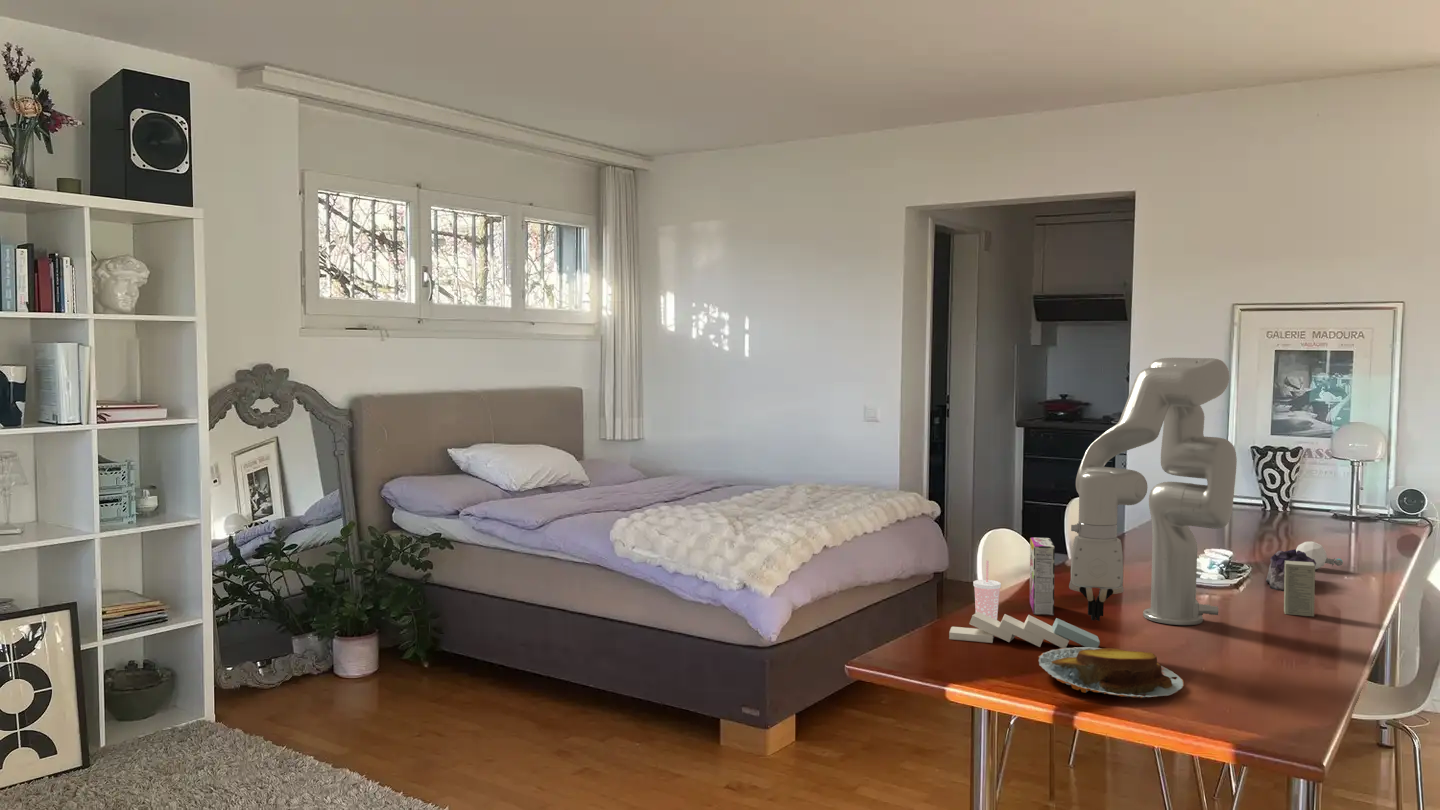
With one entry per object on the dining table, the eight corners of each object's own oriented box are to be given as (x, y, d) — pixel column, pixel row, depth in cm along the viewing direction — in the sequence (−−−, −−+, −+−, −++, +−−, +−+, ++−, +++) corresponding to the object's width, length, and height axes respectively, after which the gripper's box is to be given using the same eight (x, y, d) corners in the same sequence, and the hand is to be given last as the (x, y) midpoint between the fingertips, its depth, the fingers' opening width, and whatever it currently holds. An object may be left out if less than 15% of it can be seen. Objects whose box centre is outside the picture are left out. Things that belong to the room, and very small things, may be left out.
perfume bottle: (1293, 551, 305) (1340, 560, 300) (1290, 572, 300) (1339, 581, 295) (1297, 532, 301) (1346, 541, 295) (1295, 553, 295) (1344, 562, 290)
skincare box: (1312, 613, 250) (1314, 562, 249) (1314, 617, 246) (1316, 565, 245) (1282, 610, 252) (1284, 559, 252) (1283, 614, 248) (1285, 563, 248)
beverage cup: (985, 626, 237) (986, 564, 236) (966, 620, 242) (967, 559, 242) (1006, 623, 240) (1007, 562, 239) (987, 616, 245) (988, 557, 244)
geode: (1312, 595, 268) (1307, 556, 268) (1262, 595, 275) (1257, 557, 275) (1321, 578, 285) (1316, 541, 284) (1273, 578, 291) (1269, 542, 291)
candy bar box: (1028, 603, 258) (1029, 536, 257) (1049, 604, 257) (1050, 537, 256) (1032, 615, 247) (1033, 545, 246) (1054, 616, 246) (1056, 546, 245)
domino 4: (1068, 634, 224) (1028, 614, 226) (1069, 641, 219) (1027, 620, 221) (1064, 642, 224) (1024, 622, 226) (1064, 649, 219) (1023, 628, 221)
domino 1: (994, 630, 229) (951, 626, 231) (992, 636, 224) (949, 632, 227) (993, 639, 229) (951, 635, 232) (992, 645, 224) (949, 641, 227)
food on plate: (1114, 656, 215) (1115, 624, 215) (1215, 695, 192) (1216, 659, 191) (1008, 670, 206) (1009, 636, 205) (1101, 713, 182) (1102, 675, 182)
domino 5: (1097, 636, 222) (1056, 617, 224) (1100, 642, 218) (1057, 623, 219) (1093, 644, 223) (1052, 626, 225) (1095, 651, 218) (1053, 632, 220)
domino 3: (1044, 632, 225) (1004, 613, 228) (1043, 638, 220) (1002, 619, 223) (1041, 640, 225) (1001, 622, 228) (1039, 647, 221) (998, 627, 223)
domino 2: (1017, 629, 227) (977, 611, 231) (1012, 633, 223) (972, 615, 227) (1014, 637, 228) (974, 619, 232) (1009, 642, 223) (969, 623, 227)
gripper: (1059, 532, 217) (1058, 620, 218) (1137, 536, 213) (1135, 626, 214) (1059, 526, 225) (1057, 612, 226) (1134, 530, 220) (1132, 617, 221)
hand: (1095, 618), depth 220 cm, fingers closed
